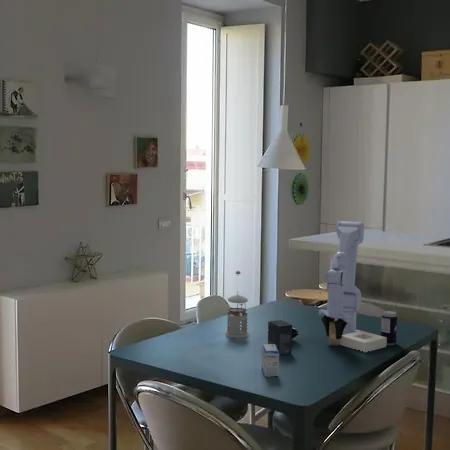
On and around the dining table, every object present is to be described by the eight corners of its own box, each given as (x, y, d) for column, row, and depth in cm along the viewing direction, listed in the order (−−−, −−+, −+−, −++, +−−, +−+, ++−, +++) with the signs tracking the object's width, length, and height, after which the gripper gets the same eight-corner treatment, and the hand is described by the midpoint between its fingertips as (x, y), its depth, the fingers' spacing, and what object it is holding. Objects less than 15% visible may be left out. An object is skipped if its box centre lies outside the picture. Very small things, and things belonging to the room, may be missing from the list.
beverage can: (396, 346, 259) (397, 314, 258) (380, 345, 260) (381, 313, 259) (396, 342, 264) (397, 311, 263) (380, 341, 266) (381, 310, 264)
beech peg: (326, 343, 261) (327, 322, 260) (333, 341, 264) (334, 321, 263) (334, 346, 258) (335, 324, 257) (341, 344, 261) (342, 323, 260)
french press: (220, 335, 270) (221, 271, 267) (231, 328, 281) (232, 267, 278) (244, 338, 266) (245, 274, 263) (254, 331, 277) (256, 269, 274)
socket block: (339, 344, 260) (340, 335, 260) (361, 339, 267) (361, 330, 267) (364, 352, 251) (365, 342, 250) (386, 346, 258) (386, 337, 258)
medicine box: (261, 369, 230) (262, 343, 229) (274, 369, 231) (275, 343, 230) (264, 377, 222) (265, 350, 221) (278, 377, 223) (279, 350, 222)
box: (291, 353, 248) (292, 324, 247) (278, 355, 246) (278, 325, 245) (280, 347, 255) (281, 319, 254) (267, 349, 253) (267, 320, 252)
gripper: (313, 299, 262) (312, 334, 264) (342, 306, 251) (341, 343, 252) (326, 297, 267) (325, 332, 268) (355, 304, 255) (354, 340, 257)
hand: (333, 337), depth 260 cm, fingers open, 4 cm apart
